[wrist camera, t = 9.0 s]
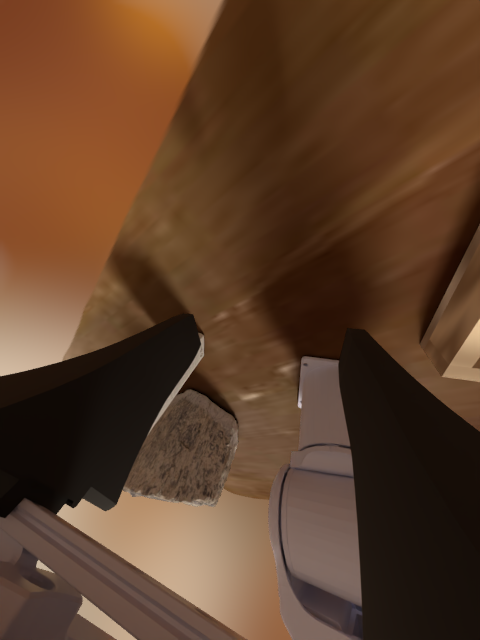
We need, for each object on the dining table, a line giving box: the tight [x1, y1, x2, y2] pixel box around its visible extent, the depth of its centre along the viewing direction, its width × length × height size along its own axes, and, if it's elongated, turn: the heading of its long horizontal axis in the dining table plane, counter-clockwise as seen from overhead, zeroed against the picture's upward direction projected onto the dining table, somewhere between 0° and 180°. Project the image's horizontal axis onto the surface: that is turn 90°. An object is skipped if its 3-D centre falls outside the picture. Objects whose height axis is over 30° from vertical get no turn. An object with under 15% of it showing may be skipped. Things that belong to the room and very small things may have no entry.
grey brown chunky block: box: [123, 389, 239, 507], centre depth 33 cm, size 19×17×15 cm
